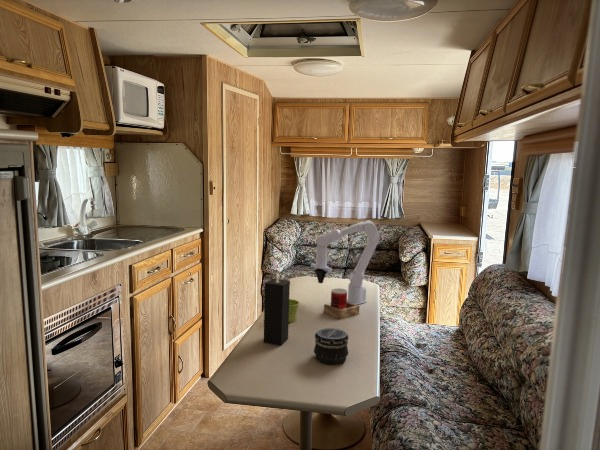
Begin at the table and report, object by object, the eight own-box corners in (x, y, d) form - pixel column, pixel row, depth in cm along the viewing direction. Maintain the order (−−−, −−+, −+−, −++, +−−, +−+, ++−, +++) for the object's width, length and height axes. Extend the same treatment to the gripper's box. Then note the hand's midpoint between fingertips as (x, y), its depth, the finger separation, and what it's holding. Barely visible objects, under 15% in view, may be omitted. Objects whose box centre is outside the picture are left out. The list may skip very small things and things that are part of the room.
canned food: (347, 310, 218) (348, 289, 217) (344, 315, 210) (346, 293, 209) (331, 308, 220) (332, 287, 218) (329, 314, 212) (330, 292, 211)
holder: (342, 307, 222) (342, 300, 222) (359, 314, 213) (359, 306, 213) (323, 312, 214) (323, 304, 213) (340, 319, 205) (340, 311, 205)
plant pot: (303, 320, 202) (303, 302, 201) (288, 325, 195) (289, 306, 194) (288, 315, 208) (289, 297, 207) (274, 320, 201) (274, 301, 200)
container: (313, 350, 169) (314, 326, 168) (346, 352, 169) (347, 327, 167) (313, 365, 156) (314, 339, 155) (349, 367, 156) (350, 340, 155)
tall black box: (288, 338, 180) (290, 272, 176) (281, 346, 172) (283, 277, 169) (270, 336, 182) (272, 270, 179) (263, 342, 175) (264, 274, 171)
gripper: (306, 256, 232) (306, 280, 234) (325, 261, 221) (324, 287, 223) (316, 254, 237) (315, 279, 239) (335, 259, 226) (334, 285, 227)
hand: (320, 282), depth 231 cm, fingers closed
